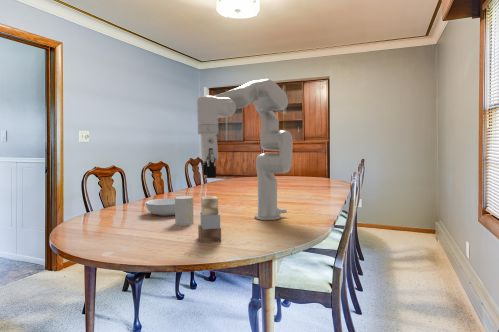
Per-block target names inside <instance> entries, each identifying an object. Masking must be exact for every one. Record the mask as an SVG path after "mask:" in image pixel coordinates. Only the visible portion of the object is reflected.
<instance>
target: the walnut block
mask: <svg viewBox="0 0 499 332" xmlns="http://www.w3.org/2000/svg"><path fill="white" fill-rule="evenodd" d="M197 228H198V229H197V230H198V234H197V235H198V236H197V237H198V239H199V242H200V244H205V243H217V242H222V227H221V226H220V228H216V229H202V227H201V224H198V225H197Z"/></svg>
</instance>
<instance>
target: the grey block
mask: <svg viewBox="0 0 499 332" xmlns="http://www.w3.org/2000/svg"><path fill="white" fill-rule="evenodd" d="M200 225H201V227H202V229H216V228H220V227H221V214H220V213H219V212H218V215H203V214H202V213H201V211H200Z"/></svg>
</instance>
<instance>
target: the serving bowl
mask: <svg viewBox="0 0 499 332" xmlns="http://www.w3.org/2000/svg"><path fill="white" fill-rule="evenodd" d="M145 206H146V209H147V210H148V212H150V214H153V215H156V216H157V215H158V216H161V217H169V215H170V216H175V198H159V199H158V198H157V199H156V198H155V199H150V200H148V201H146V202H145Z"/></svg>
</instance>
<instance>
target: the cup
mask: <svg viewBox="0 0 499 332" xmlns="http://www.w3.org/2000/svg"><path fill="white" fill-rule="evenodd" d="M174 199H175V214H174V217H175V220H174V221H175V225H176V226H180V227H181V226H182V227H183V226H184V227H185V226H191V225H194V221H195V220H194V196H191V195H181V196H176V197H175V196H174Z"/></svg>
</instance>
